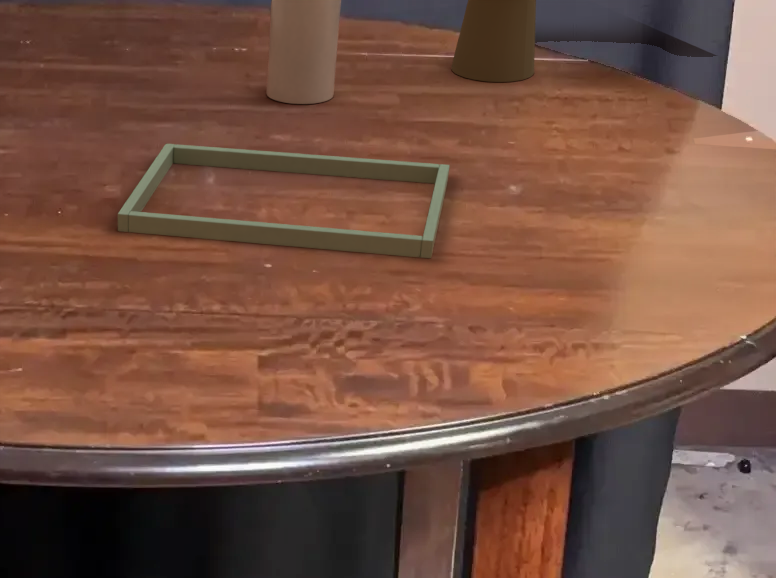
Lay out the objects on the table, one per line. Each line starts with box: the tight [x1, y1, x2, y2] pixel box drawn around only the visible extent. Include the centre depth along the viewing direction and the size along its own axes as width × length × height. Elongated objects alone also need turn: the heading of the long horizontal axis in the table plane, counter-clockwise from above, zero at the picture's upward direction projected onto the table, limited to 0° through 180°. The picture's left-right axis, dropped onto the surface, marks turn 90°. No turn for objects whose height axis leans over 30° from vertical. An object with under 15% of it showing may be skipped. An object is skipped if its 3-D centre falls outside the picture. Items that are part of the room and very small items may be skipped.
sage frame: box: [117, 143, 451, 259], centre depth 87 cm, size 17×12×2 cm
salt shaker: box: [265, 0, 342, 105], centre depth 104 cm, size 5×5×11 cm
